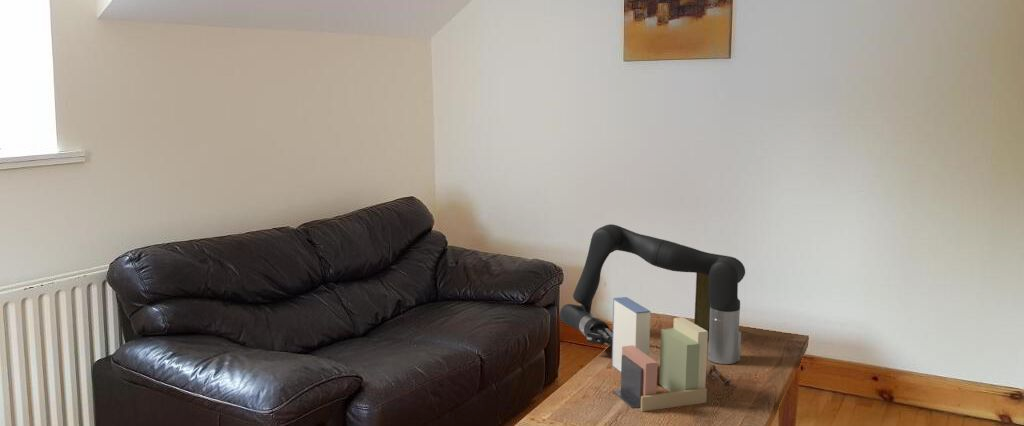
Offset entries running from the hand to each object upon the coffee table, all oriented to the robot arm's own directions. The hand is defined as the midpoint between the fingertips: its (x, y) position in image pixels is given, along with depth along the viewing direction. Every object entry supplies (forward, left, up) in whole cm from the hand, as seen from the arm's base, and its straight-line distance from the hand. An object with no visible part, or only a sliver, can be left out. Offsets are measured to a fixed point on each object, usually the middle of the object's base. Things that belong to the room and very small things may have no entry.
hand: (615, 344), depth 271 cm
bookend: (+10, +29, -6) cm, 31 cm away
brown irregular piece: (-22, +25, -6) cm, 34 cm away
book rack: (-1, +29, -6) cm, 30 cm away
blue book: (0, +10, -6) cm, 12 cm away
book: (-42, -18, -6) cm, 46 cm away
